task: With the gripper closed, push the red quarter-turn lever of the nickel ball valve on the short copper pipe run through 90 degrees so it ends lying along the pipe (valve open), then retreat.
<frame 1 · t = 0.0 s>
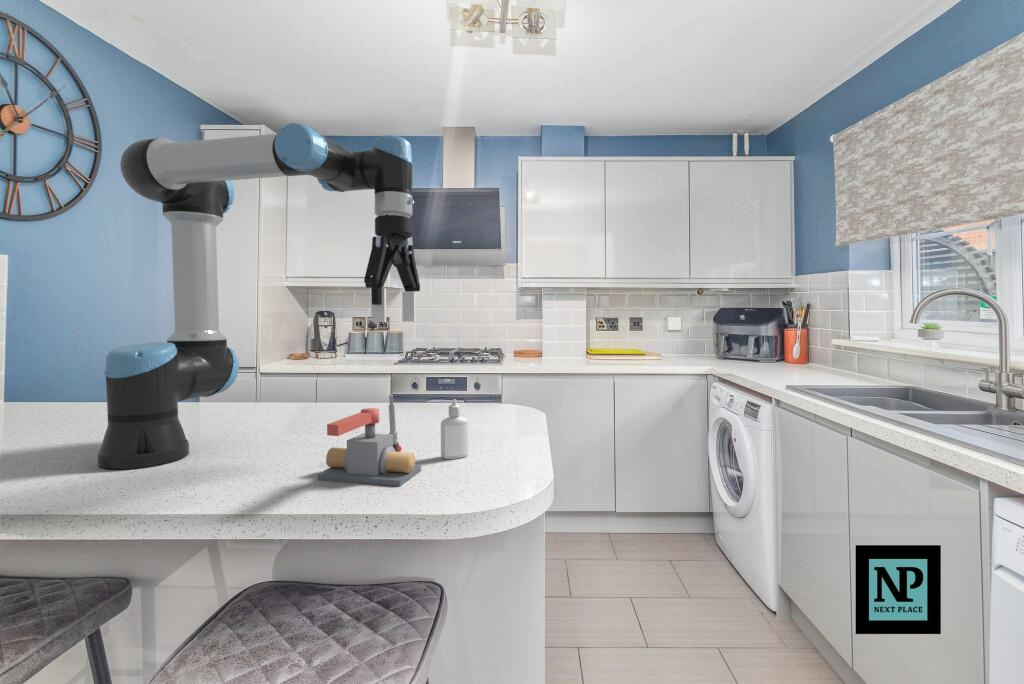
hand: (395, 322, 105), 28 cm above the table, tool pointing down, fingers open, 13 cm apart
lever: (355, 421, 88), point 11 cm above the table, hinge at 0.0°
valve base: (370, 475, 94), on the table
eye dropper bottle: (454, 457, 106), on the table
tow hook: (376, 457, 107), on the table
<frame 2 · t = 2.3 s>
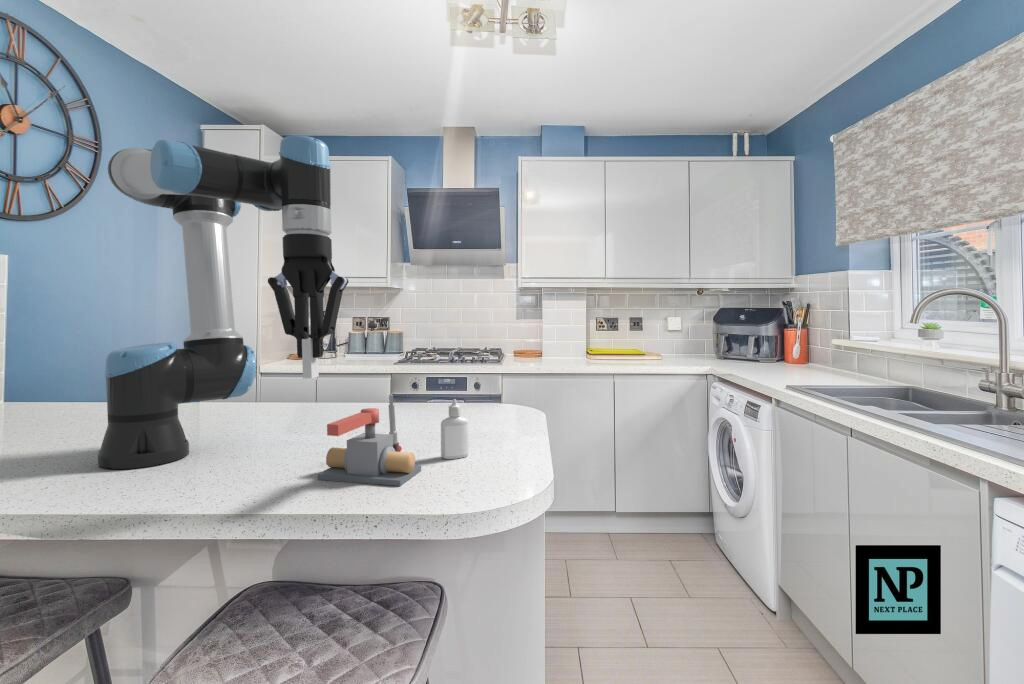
hand: (310, 377, 85), 19 cm above the table, tool pointing down, fingers closed
nothing on the table moved.
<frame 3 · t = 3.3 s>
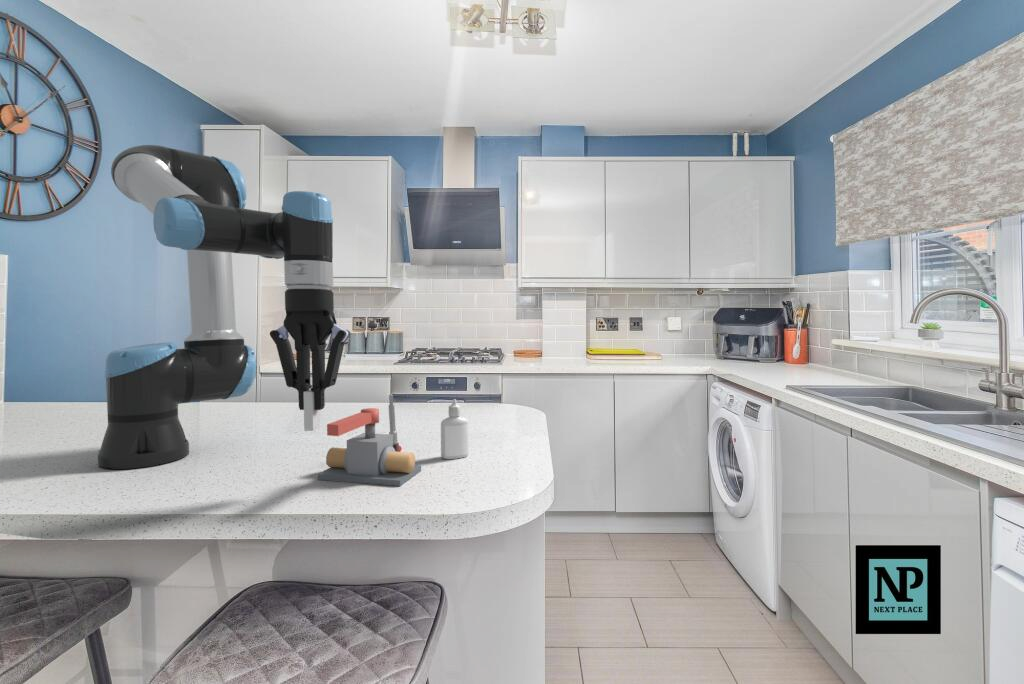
hand: (312, 428, 86), 10 cm above the table, tool pointing down, fingers closed
nothing on the table moved.
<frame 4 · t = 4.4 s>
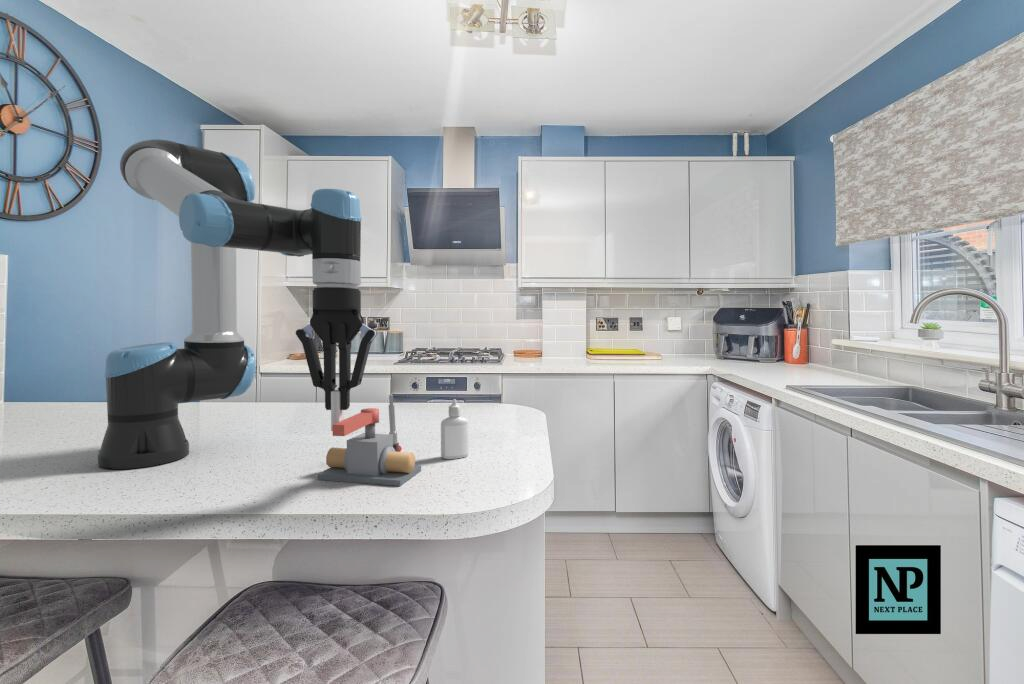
hand: (337, 429, 85), 10 cm above the table, tool pointing down, fingers closed
lever: (357, 421, 88), point 11 cm above the table, hinge at 4.8°, touching gripper
everything else where it was.
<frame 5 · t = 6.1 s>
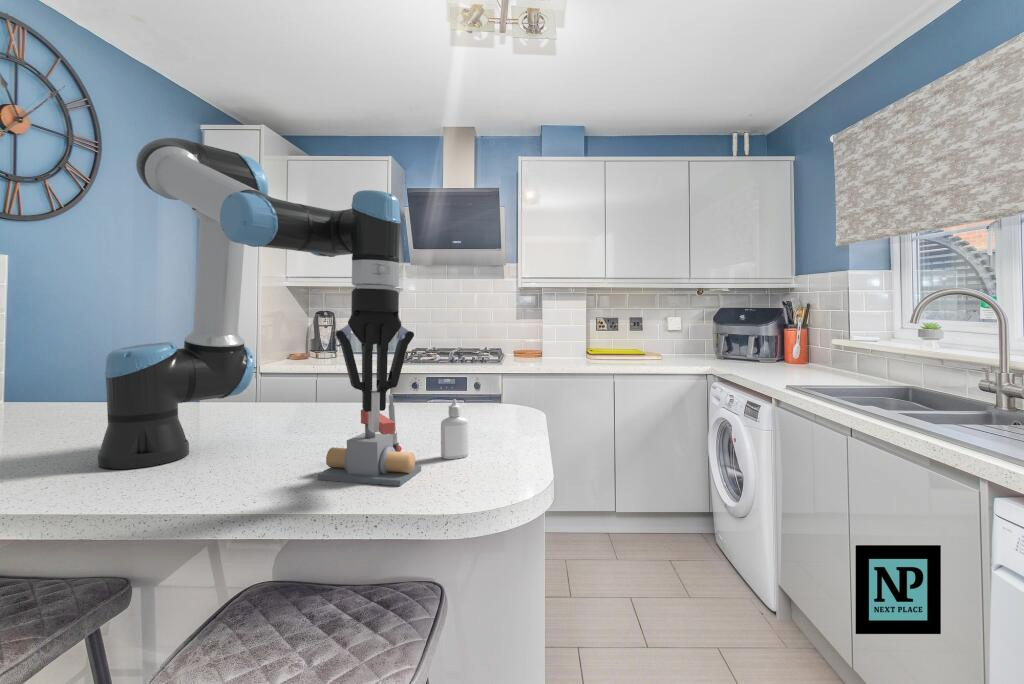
hand: (373, 430, 85), 10 cm above the table, tool pointing down, fingers closed
lever: (377, 421, 89), point 11 cm above the table, hinge at 43.0°, touching gripper
everything else where it was.
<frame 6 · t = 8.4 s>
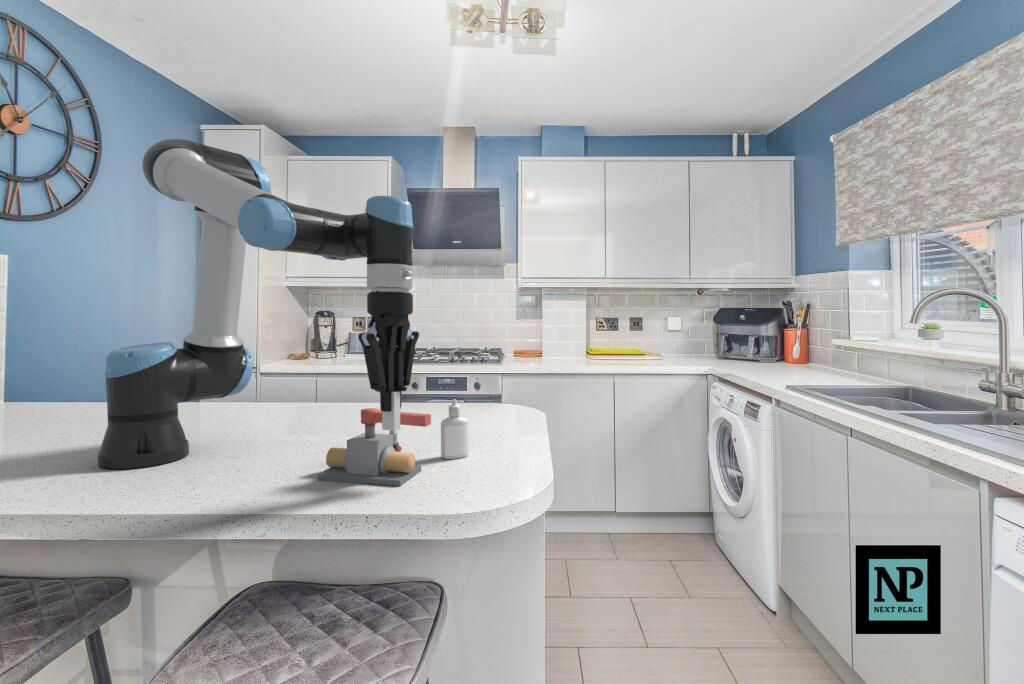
hand: (391, 429, 88), 10 cm above the table, tool pointing down, fingers closed
lever: (394, 418, 92), point 11 cm above the table, hinge at 83.5°
everything else where it was.
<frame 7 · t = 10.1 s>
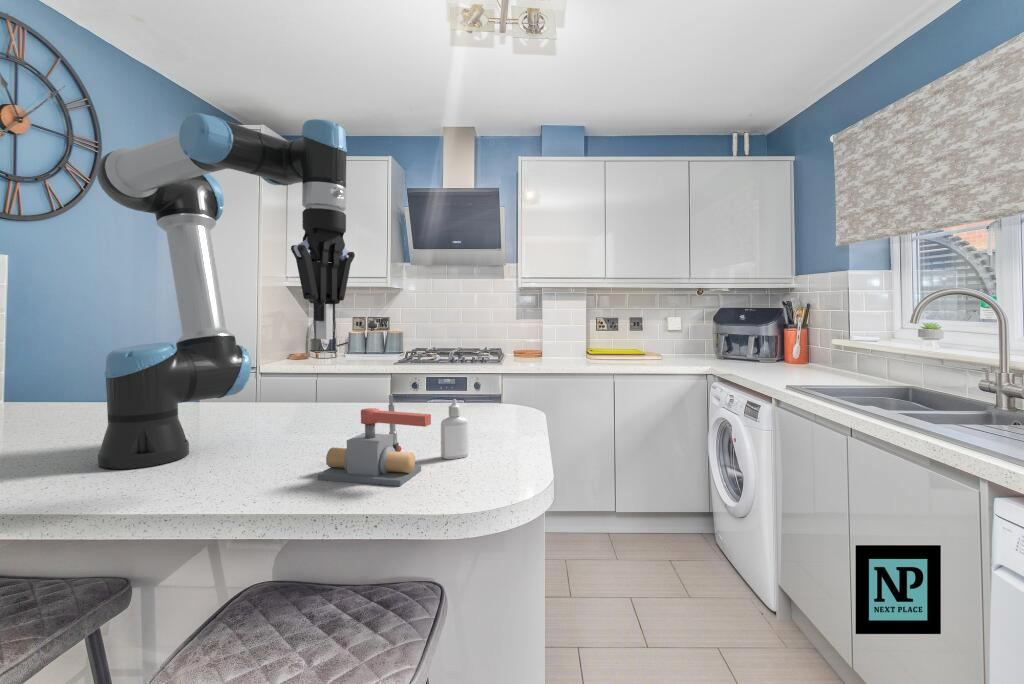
hand: (324, 338, 95), 25 cm above the table, tool pointing down, fingers closed
nothing on the table moved.
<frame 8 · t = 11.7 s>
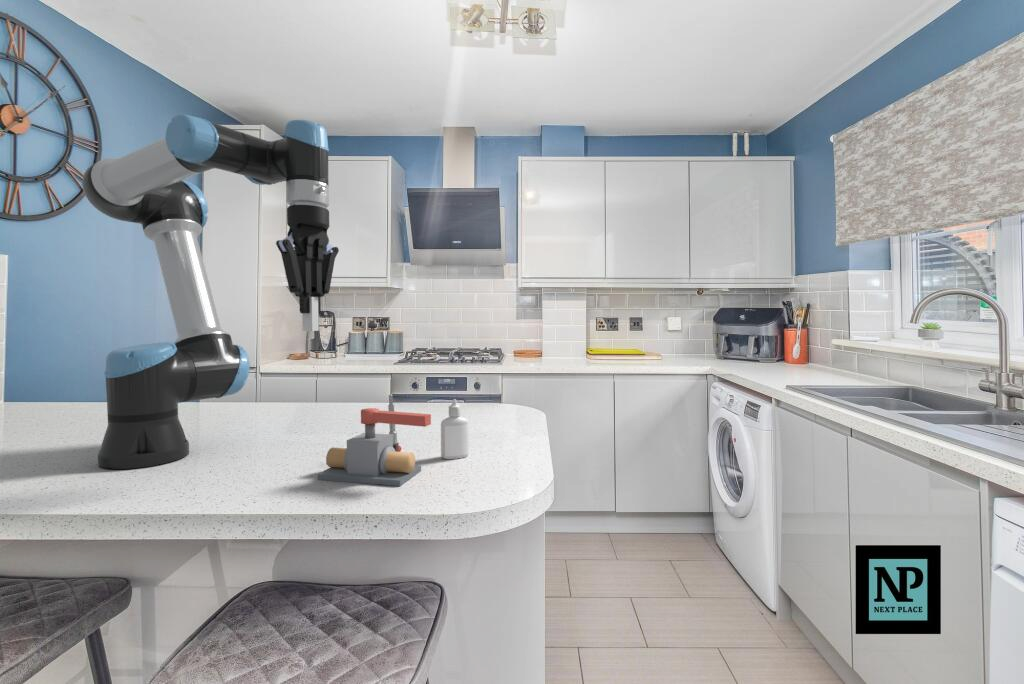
hand: (310, 330, 99), 26 cm above the table, tool pointing down, fingers closed
nothing on the table moved.
at the end: lever at +84° (first picture: +0°) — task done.
